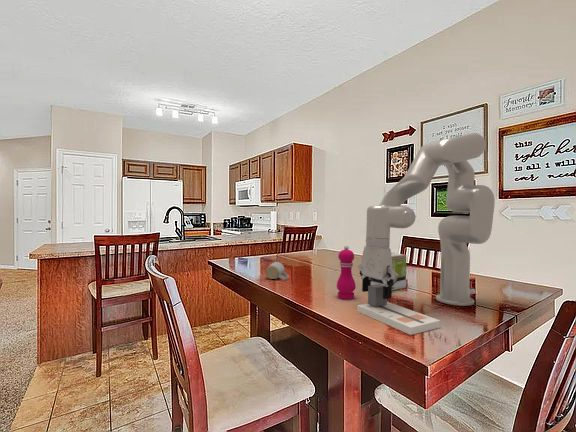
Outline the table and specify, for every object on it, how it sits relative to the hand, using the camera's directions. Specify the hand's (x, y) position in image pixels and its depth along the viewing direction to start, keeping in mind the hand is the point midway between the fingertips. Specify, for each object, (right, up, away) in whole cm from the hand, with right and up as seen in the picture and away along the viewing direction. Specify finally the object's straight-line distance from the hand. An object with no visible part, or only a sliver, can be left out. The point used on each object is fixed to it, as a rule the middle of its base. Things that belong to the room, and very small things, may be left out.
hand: (376, 294), depth 103 cm
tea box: (+13, -5, +32) cm, 35 cm away
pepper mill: (-7, -5, +17) cm, 19 cm away
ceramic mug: (-34, -5, +49) cm, 60 cm away
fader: (0, -3, 0) cm, 3 cm away
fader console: (+4, -6, -7) cm, 10 cm away
